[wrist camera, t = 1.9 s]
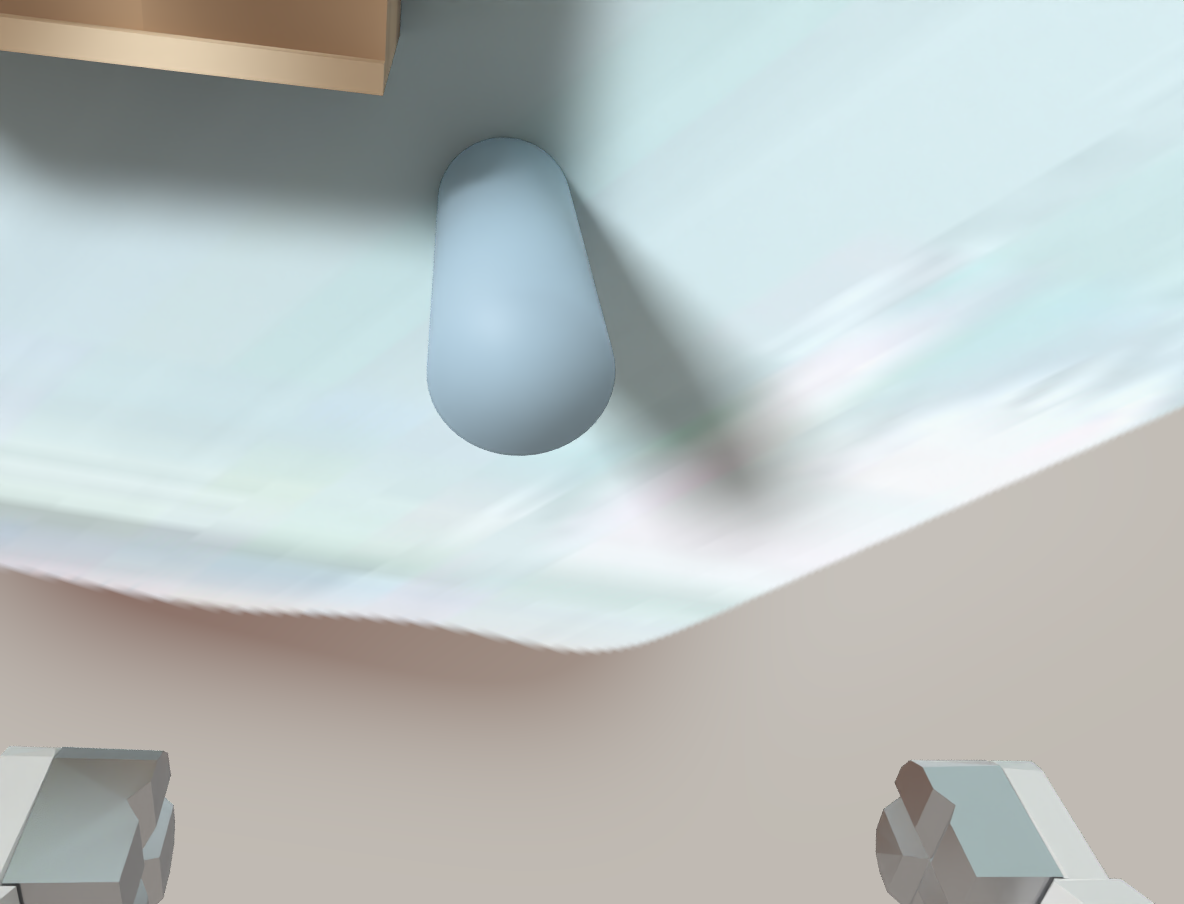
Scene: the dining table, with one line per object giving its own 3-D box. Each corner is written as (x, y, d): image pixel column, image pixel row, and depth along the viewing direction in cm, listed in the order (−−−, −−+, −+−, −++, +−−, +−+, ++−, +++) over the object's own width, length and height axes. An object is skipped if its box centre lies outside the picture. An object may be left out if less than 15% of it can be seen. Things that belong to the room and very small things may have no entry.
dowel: (578, 145, 28) (628, 297, 19) (562, 272, 30) (600, 461, 21) (442, 129, 27) (432, 280, 19) (434, 259, 29) (421, 449, 21)
